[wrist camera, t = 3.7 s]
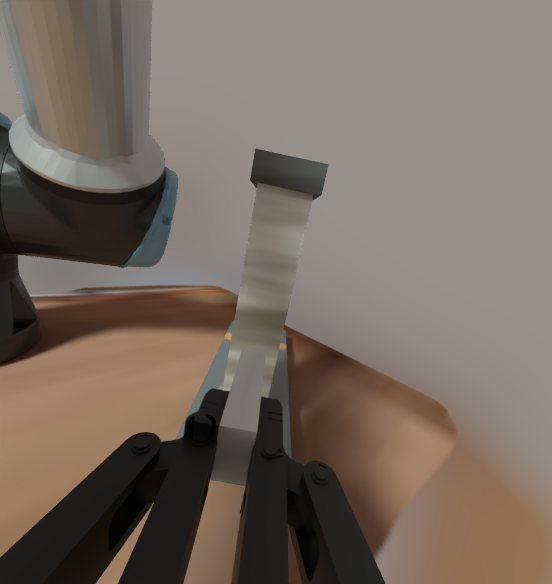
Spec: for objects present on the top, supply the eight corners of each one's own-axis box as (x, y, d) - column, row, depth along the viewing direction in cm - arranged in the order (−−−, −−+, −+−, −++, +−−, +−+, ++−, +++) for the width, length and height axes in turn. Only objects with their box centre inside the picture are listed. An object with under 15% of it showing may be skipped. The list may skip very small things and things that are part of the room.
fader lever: (268, 424, 24) (328, 164, 19) (211, 414, 24) (255, 148, 18) (270, 389, 29) (318, 175, 23) (223, 381, 29) (260, 163, 23)
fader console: (286, 486, 21) (292, 462, 21) (170, 466, 21) (173, 441, 20) (283, 341, 46) (286, 328, 46) (230, 331, 46) (232, 318, 45)
